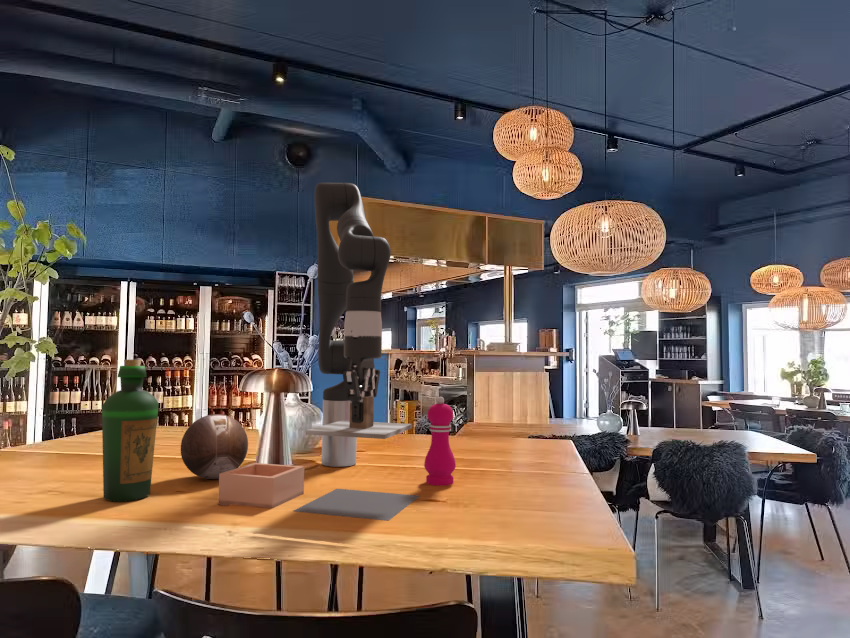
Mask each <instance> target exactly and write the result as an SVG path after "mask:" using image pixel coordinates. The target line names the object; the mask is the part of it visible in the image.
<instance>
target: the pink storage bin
mask: <svg viewBox="0 0 850 638" xmlns="http://www.w3.org/2000/svg"><path fill="white" fill-rule="evenodd" d="M304 492H305V466H303V465H287V464H274V463H262V462H252V463H249V464H247V465H243V466H239V468H236V469H233V470H230V471H227V472H223V473H220V474H219V478H218V502H217V504H218V506H226V507H229V506H231V505H233V506H234V505H235V506H244V507H253V508H255V507H256V508H265V509H275V508H277V507H279V506H281V505H283V504H286V503H287V502H290V501H292V500H294V499H296V498H298V497H301V496H302V495H304V494H305V493H304Z"/></svg>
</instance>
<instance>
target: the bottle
mask: <svg viewBox="0 0 850 638" xmlns="http://www.w3.org/2000/svg"><path fill="white" fill-rule="evenodd" d="M141 364H142V359H124V365H120V367H119V371H118V373H117V378H119V379H120V390H117V391H116V392H113V393H112V394H111V395H110V396H108V397H107V398H106V399H105V400H104V402H103V403H102V405H101V422H102V423H101V427H102V428H101V430H102V432H101V434H102V437H101V438H102V478H103V479H102V482H103V485H102V487H103V489H102V490H103V499H105V500H107V501H110V502H118V503H121V502H123V503H124V502H133V501H138V500H142V499H144V498H146V497H147V496H150V494H151V487H152V477H153V476H152V475H153V467H154V466H153V465H154V455H155V444H156V436H157V435H156V434H157V425H158V416H159V415H158V414H159V406H160V405H159V401H158V400H157V398H156V397H155V396H154V395H153V394H151V392H149V391H147V390H144V389H143V385H144V379H145V378H147V371H146V370H147V369H146V366H145V365H141Z"/></svg>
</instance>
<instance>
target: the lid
mask: <svg viewBox="0 0 850 638" xmlns="http://www.w3.org/2000/svg"><path fill="white" fill-rule="evenodd" d="M374 399H375V397H374V396H364V402H363V404H364V405H363V422H361V423H354V422H352V403H350V421H338V422H334V423H331V424H327V425H323V426H322V425H320V426H316V427H312V428H308V429H306V430H305V435H313V436H322V435H325V436H342V437H357V438H363V439H377V440H379V439H380V440H381V439H382V440H386V439H389V438H391V437H394V436H396V435H398V434H401V433H404V432H405V431H408V430H411V429H413V423H397V422H396V423H395V422H379V421H378V422H376V421H374V412H375V411H374V409H375V407H374V406H375V405H374V404H375V400H374Z"/></svg>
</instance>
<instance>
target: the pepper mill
mask: <svg viewBox="0 0 850 638" xmlns="http://www.w3.org/2000/svg"><path fill="white" fill-rule="evenodd" d="M453 419H454V411H453V408H452V407H451V406H450V405H448V404H446V403H445V398H444V397H443V396H438V397H437V399H436V403H435V404H432V405H431V406H429V409H428V410H427V420H428V421H429V423H430V424H429V431H430V433H431V442H430V445H429V446H430V447H429V449H428V451H427V453H426V456H425V459H424V464H423V467H424V469H425V471H426V472H427V475H426V477H425V478H426V479H425V483H426V484H428V485H432V486H443V487H445V486H450V485H453V484H454V476H453V475H452V473H453V472H454V471H455V470H456V459H455V456H454V453H453V452H452V448H451V445H450V437H449V435H450V432H452V425H451V424H450V423H451V422H452V421H453Z"/></svg>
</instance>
